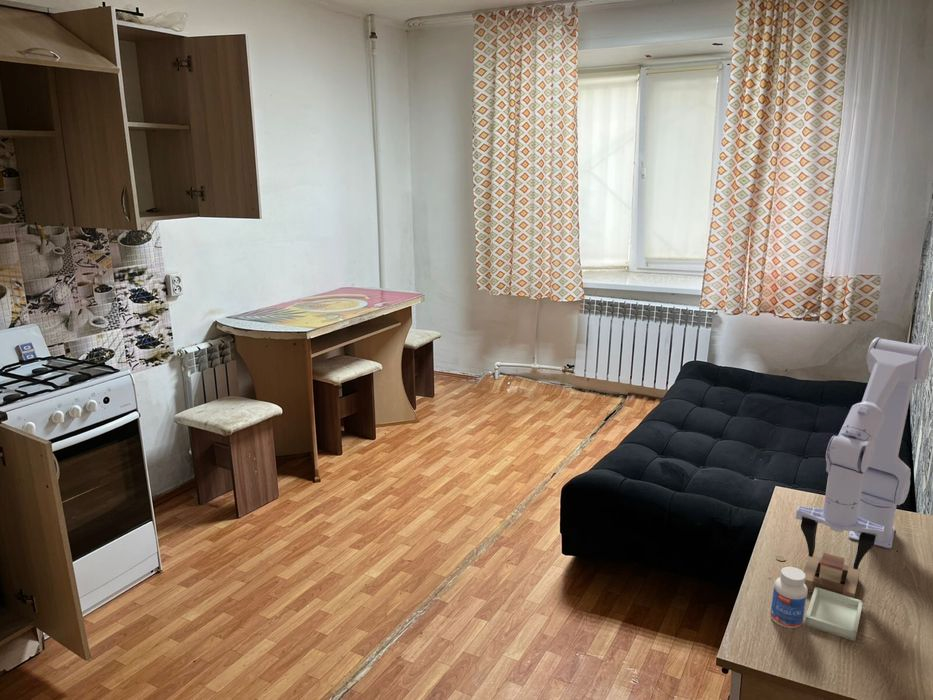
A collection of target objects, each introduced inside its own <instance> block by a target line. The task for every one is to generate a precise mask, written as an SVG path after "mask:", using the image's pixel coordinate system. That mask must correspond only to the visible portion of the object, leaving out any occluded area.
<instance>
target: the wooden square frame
mask: <svg viewBox="0 0 933 700" xmlns="http://www.w3.org/2000/svg"><path fill="white" fill-rule="evenodd" d="M821 560H822V557H818V556H814V555H813V557H810V556H809V555H808V559H807V561H806V565H805V568H804V570H803V572H804V573H805V575H806V578H805V583H804V584H805V585H806V586H807V589H808V593H812V594H813V592H814V589H815V587H818V588H821V589H825V590H828V591H832V592H835V593H838V594H842V595H845V596H848V597H852V598H855V596H856V592H857V588H858V584H859V579H860V573H861V568H859V567H858V569H853V567H854V566H851V565H848V564H844V565H843V572H842V578H841V581H844V584H842V583H841V584H839V583H836V582H832V581H829V580H825V579H822V578H819V576H817V575H818V574H819V573H820V566H821V565H820V564H821ZM855 599H856V598H855Z"/></svg>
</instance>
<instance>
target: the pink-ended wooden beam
mask: <svg viewBox="0 0 933 700" xmlns="http://www.w3.org/2000/svg"><path fill="white" fill-rule="evenodd" d="M821 558H822V560H821V564H820V565H821V566H820V573H818V574H819V575H818V578H822V579H825V580H829V581H832V582H836V583H839V584H842V580H841V578H842V572H843V565H845V561H846V559H845V557H841V556H839V555H838V556H837V555H833V554H829V553H827V552H823V554H822V557H821Z"/></svg>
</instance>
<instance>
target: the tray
mask: <svg viewBox="0 0 933 700" xmlns="http://www.w3.org/2000/svg"><path fill="white" fill-rule="evenodd" d="M863 602H864V600H861V599H858V598H852V597H848V596H845V595H842V594H838V593H835V592H832V591H828V590H825V589H821V588H818V587H815V589H814V592H813V593H812V595H811V599H810V602H809V605H808V608H807V611H806V615H805V620H804V625H805V626H807V627H810V628H813V629H816V630H819V631H822V632H824V633H828V634H830V635H834V636H837V637H840V638H844V639H847V640H849V641H853V642H856V639H857V638H856V637H857V633H858V630H859V629H858V628H859V626H860V625H859V624H860V621H861V620H860V619H861V614H862V610H863V606H864V605H863V604H864V603H863Z"/></svg>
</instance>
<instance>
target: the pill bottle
mask: <svg viewBox="0 0 933 700" xmlns="http://www.w3.org/2000/svg"><path fill="white" fill-rule="evenodd" d="M805 578H806V575H805V573H804V570H801V569H800V568H797V567H794V566H784V567H782V568H781V569H780V575H779V577H778V578H777V579H775V581H774V585H773V590H772V591H773V592H772V598H771V606H770V617H771V620H772V621H773V622H775V623H776V624H777V625H779V626H781V627H783V628H787V629H796V628H798V627H801V626H802V624H803V622H804V616H805V609H806V604H807V598H808V593H809V591H808V589H807V586H806V585H805V584H804V583H805Z"/></svg>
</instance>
